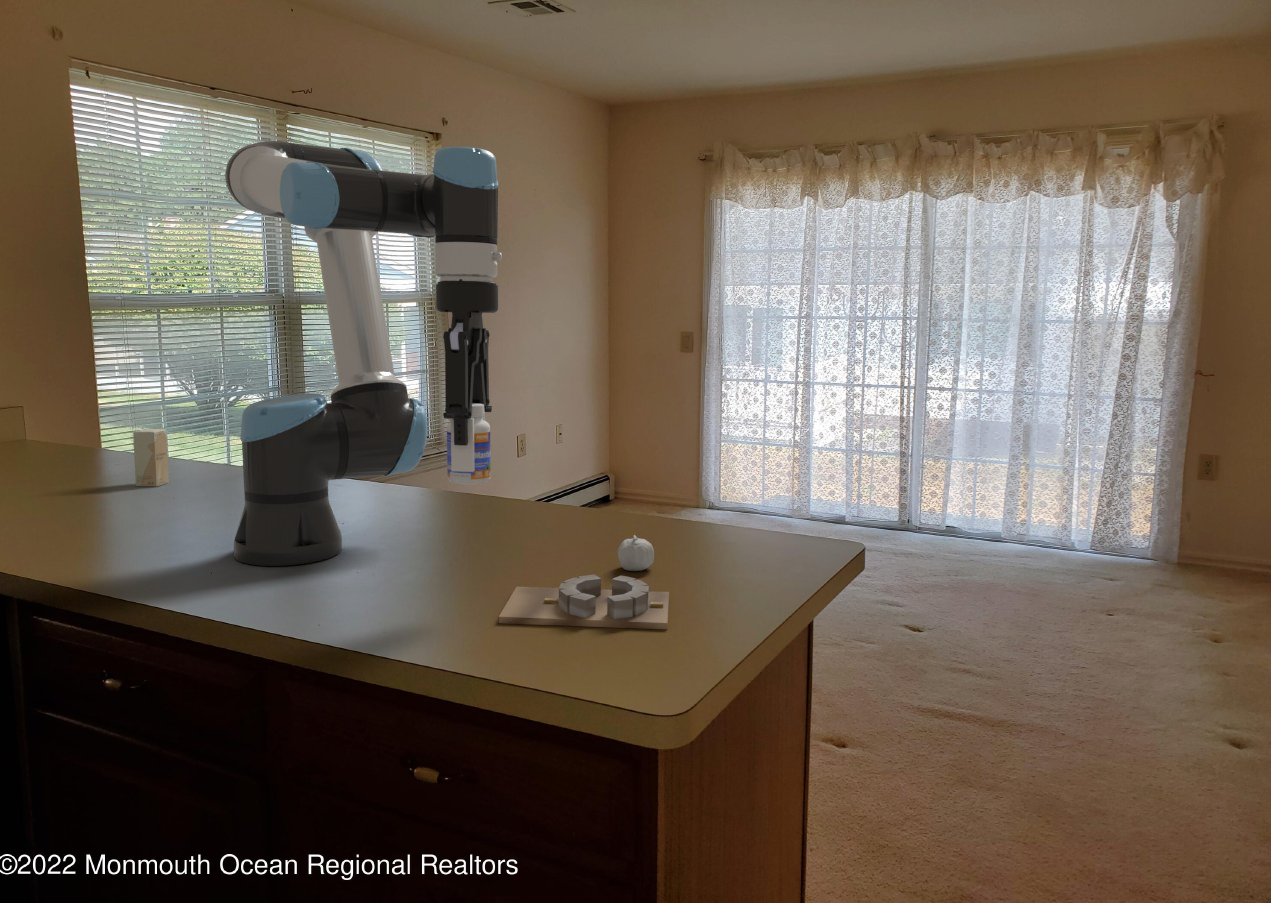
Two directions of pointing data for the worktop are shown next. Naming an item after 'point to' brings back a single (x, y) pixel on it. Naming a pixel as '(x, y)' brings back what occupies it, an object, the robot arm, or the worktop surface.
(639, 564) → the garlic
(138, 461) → the box
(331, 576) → the worktop surface
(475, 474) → the pill bottle
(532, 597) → the socket board
